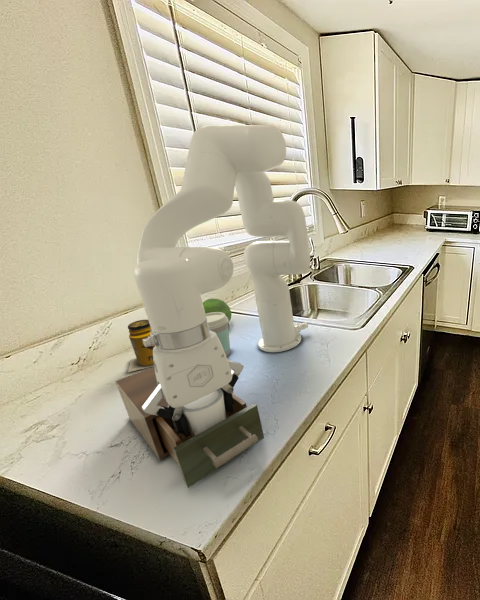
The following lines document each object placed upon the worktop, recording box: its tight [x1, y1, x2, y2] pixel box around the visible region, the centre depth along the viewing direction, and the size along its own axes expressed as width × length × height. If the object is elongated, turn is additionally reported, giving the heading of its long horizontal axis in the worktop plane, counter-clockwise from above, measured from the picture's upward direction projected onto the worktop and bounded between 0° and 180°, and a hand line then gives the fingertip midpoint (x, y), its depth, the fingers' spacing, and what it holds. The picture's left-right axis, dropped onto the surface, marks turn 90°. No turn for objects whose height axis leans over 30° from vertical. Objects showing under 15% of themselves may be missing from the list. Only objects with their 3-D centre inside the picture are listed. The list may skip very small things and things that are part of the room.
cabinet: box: [114, 366, 234, 461], centre depth 68 cm, size 18×15×10 cm
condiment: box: [127, 319, 155, 373], centre depth 89 cm, size 7×8×12 cm
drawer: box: [152, 392, 265, 488], centre depth 60 cm, size 22×14×8 cm, turn 52°
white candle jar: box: [182, 389, 226, 437], centre depth 59 cm, size 7×7×7 cm
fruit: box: [202, 298, 233, 323], centre depth 112 cm, size 15×10×10 cm, turn 32°
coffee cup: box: [206, 312, 231, 357], centre depth 93 cm, size 8×8×12 cm
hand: (207, 419), depth 59 cm, fingers closed on white candle jar, 6 cm apart
